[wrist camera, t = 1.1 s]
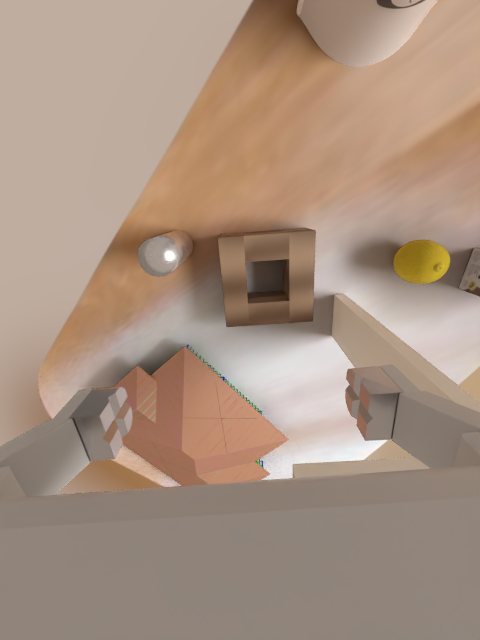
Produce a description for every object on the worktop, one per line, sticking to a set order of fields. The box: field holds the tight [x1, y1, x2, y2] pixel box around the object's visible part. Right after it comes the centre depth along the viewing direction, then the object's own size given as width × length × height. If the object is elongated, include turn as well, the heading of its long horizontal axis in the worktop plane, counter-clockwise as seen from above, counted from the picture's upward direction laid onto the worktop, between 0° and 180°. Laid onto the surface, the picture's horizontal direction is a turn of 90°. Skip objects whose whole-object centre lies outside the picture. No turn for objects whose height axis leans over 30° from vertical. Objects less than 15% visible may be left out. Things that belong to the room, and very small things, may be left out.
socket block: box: [218, 228, 316, 327], centre depth 37 cm, size 12×12×5 cm
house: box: [114, 345, 288, 486], centre depth 47 cm, size 23×33×8 cm
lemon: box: [393, 240, 450, 284], centre depth 35 cm, size 6×6×8 cm
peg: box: [138, 230, 193, 277], centre depth 33 cm, size 4×4×11 cm
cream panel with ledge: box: [293, 294, 480, 478], centre depth 29 cm, size 11×13×30 cm
